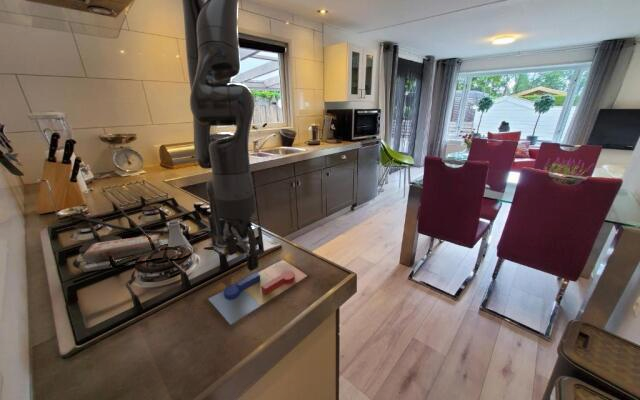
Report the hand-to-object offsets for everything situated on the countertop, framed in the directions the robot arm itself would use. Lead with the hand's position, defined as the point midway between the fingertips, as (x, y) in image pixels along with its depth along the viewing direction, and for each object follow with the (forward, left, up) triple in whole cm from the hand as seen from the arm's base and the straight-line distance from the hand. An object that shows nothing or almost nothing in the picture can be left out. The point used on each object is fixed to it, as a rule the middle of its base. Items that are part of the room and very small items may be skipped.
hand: (242, 260), depth 56 cm
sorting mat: (+3, +1, -8) cm, 9 cm away
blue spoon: (0, 0, -8) cm, 8 cm away
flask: (-24, +14, -8) cm, 29 cm away
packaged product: (-37, +12, -8) cm, 39 cm away
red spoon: (+7, +1, -8) cm, 11 cm away
